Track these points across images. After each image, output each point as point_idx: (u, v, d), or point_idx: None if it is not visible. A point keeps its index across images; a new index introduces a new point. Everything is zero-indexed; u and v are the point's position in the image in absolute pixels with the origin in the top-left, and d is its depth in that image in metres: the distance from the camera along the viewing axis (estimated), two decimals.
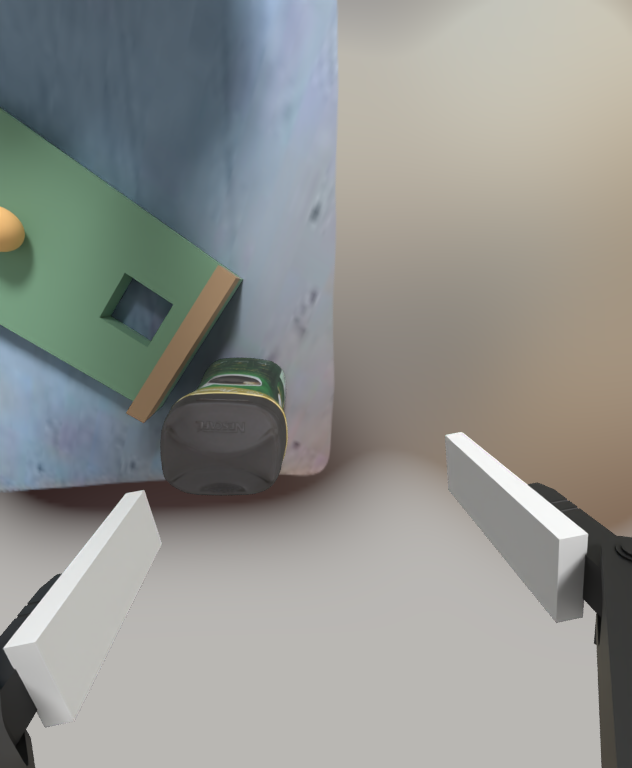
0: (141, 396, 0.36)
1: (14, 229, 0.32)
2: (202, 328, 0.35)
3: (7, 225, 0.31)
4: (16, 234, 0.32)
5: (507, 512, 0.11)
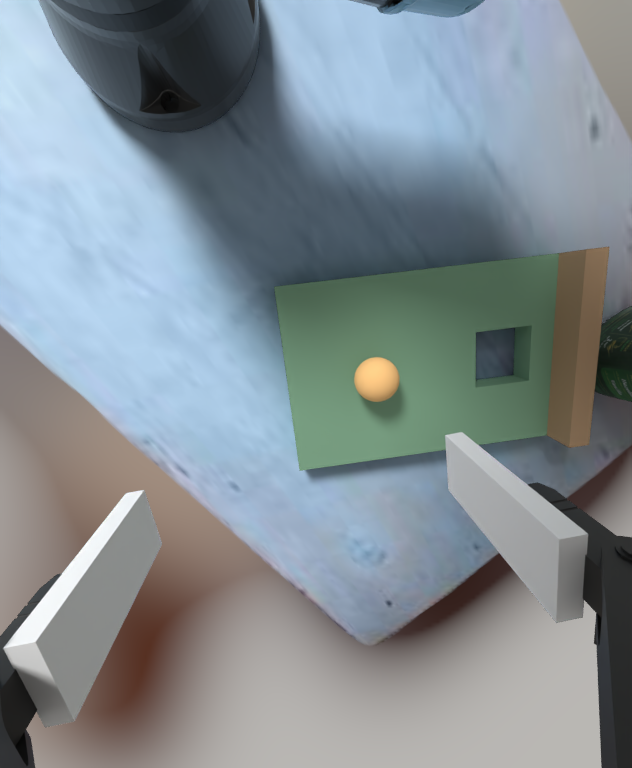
0: (575, 423, 0.33)
1: (395, 367, 0.31)
2: (600, 320, 0.30)
3: (393, 368, 0.30)
4: (397, 370, 0.31)
5: (507, 512, 0.11)
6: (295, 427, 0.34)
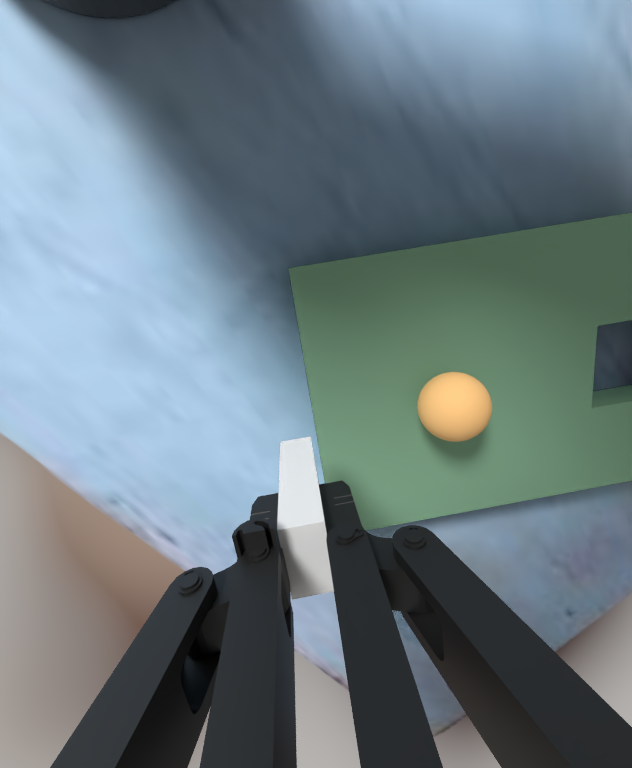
0: None
1: (485, 388, 0.19)
2: None
3: (484, 389, 0.19)
4: None
5: None
6: (326, 477, 0.23)
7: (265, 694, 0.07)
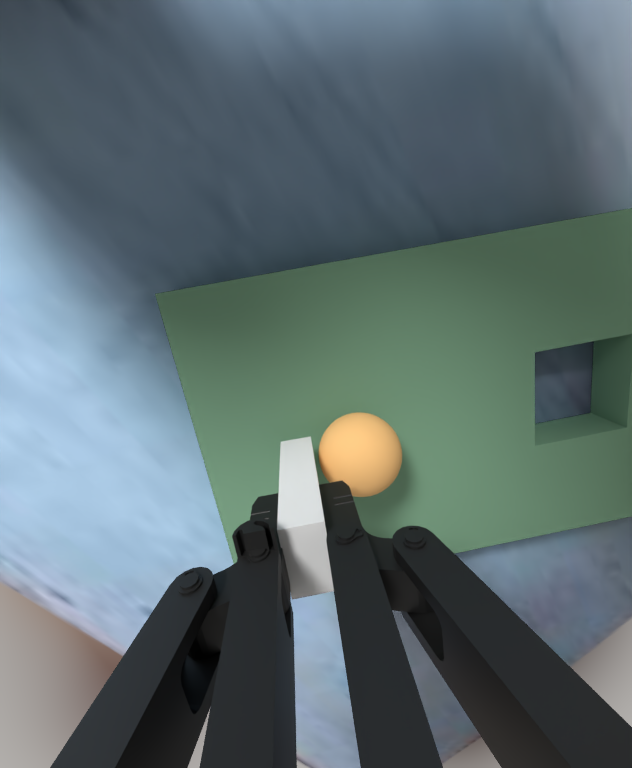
0: None
1: (393, 433, 0.16)
2: None
3: (389, 436, 0.16)
4: (397, 437, 0.16)
5: None
6: (227, 532, 0.20)
7: (265, 693, 0.07)
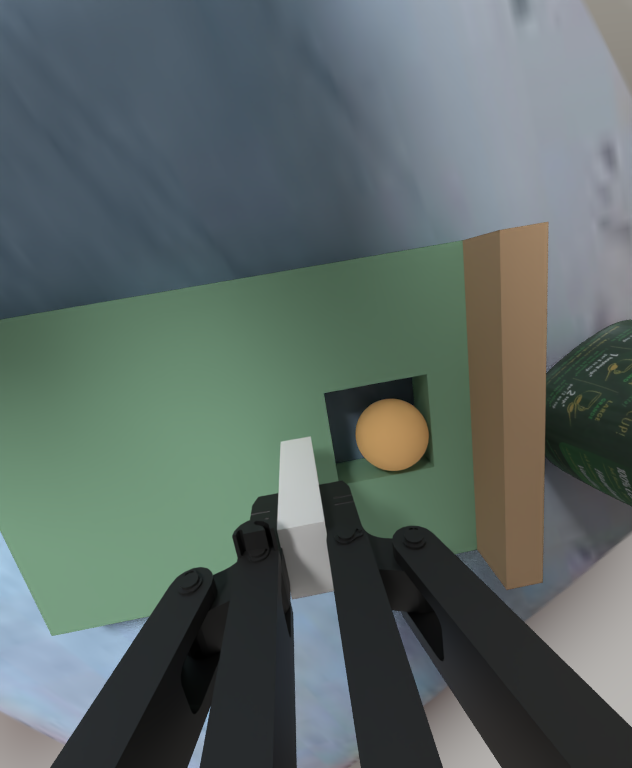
0: (513, 551, 0.18)
1: None
2: (543, 368, 0.15)
3: None
4: None
5: None
6: (23, 572, 0.19)
7: (265, 694, 0.07)
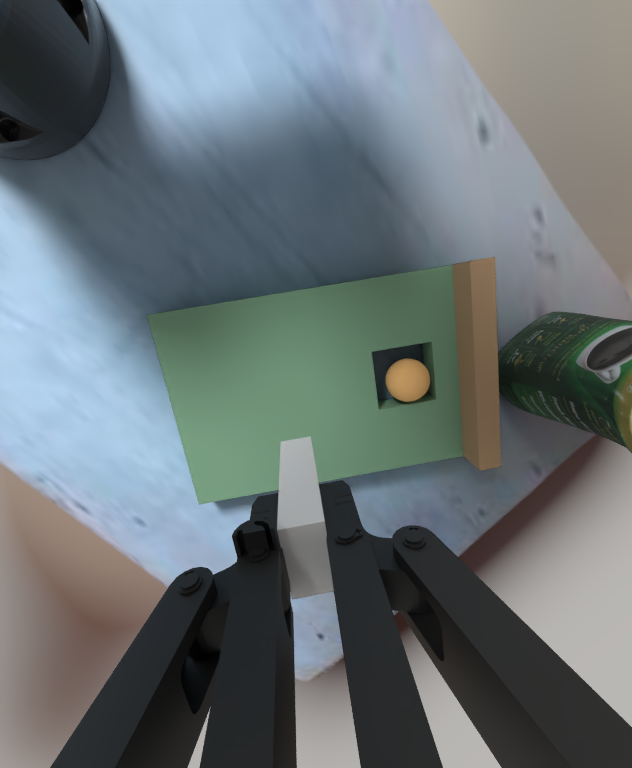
0: (483, 445, 0.31)
1: None
2: (495, 334, 0.28)
3: None
4: None
5: None
6: (188, 459, 0.32)
7: (265, 693, 0.07)
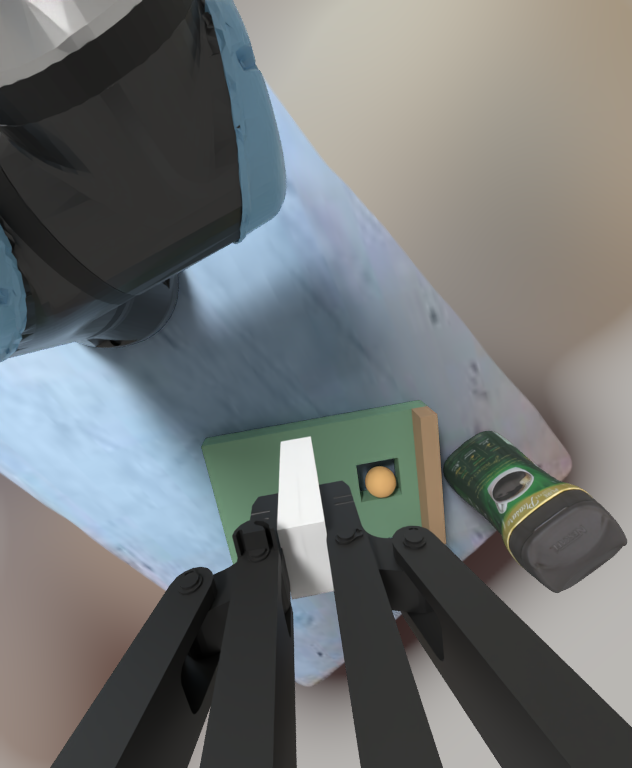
0: (432, 530, 0.44)
1: None
2: (439, 461, 0.42)
3: (390, 470, 0.46)
4: None
5: None
6: (227, 538, 0.46)
7: (265, 693, 0.07)
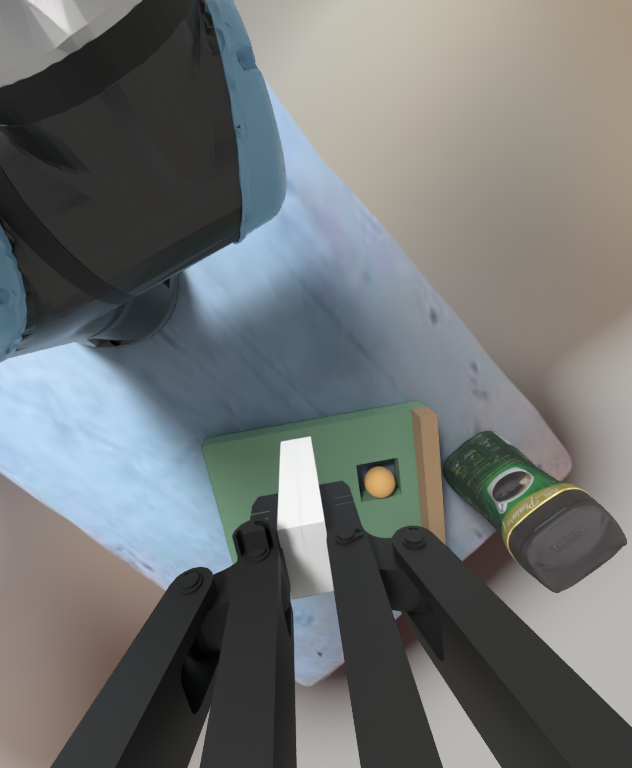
0: (432, 530, 0.44)
1: None
2: (439, 461, 0.42)
3: None
4: None
5: None
6: (227, 538, 0.46)
7: (264, 693, 0.07)
